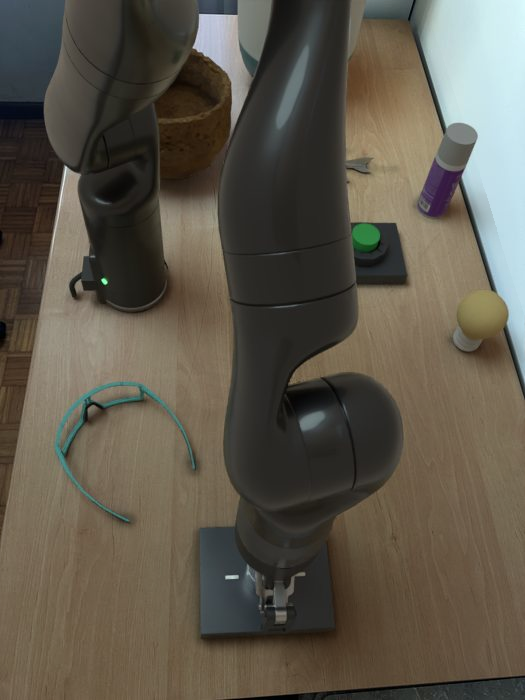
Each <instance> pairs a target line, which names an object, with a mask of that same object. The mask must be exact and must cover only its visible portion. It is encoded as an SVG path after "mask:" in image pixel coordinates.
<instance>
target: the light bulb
mask: <svg viewBox="0 0 525 700" xmlns="http://www.w3.org/2000/svg"><path fill="white" fill-rule="evenodd" d="M509 316H510V315H509V308H508V305H507V303H506V301H505V300H504V299H503V298H502V297H501V296H500V295H499V294H498V293H497V292H495V291H493V290H491V289H478V290H474V291H472V292H470V293H468V294H466V295H465V296H464V297H462V299H461V301H459V304H458V306H457V308H456V322H457V324H458V326H457V327H456V329H455V331H454V332H453V334H452V341H453V344H454V345H455V346H456V348H458V349H459V350H461V351H463V352H468V353H469V352H474V351H475V350H477V349H478V348H479V347H480V345H481V344H482V342H483V341H484V340H487V339H490V338H493V337H496V336H497V335H499V334H500V333H501V332H502V331H503V330H504V328H506V326H507V323H508V320H509Z"/></svg>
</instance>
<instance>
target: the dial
mask: <svg viewBox="0 0 525 700" xmlns="http://www.w3.org/2000/svg"><path fill="white" fill-rule="evenodd" d="M255 572H256V571H255V570H254V569H253V568H251V567H250V566H249V565H248V564H247V567H246V571H245V580H246V584H247V586H248V588H249V589H250V590H251V591H252V592H253V593H254V594H256V587H255ZM262 579H263V580H264V576H263V575H262ZM256 595H257V594H256ZM268 597H271V596H268Z"/></svg>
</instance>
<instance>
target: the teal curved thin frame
mask: <svg viewBox="0 0 525 700" xmlns="http://www.w3.org/2000/svg"><path fill="white" fill-rule="evenodd" d="M128 386H129V387H137V388H138V390H139V392H140V393H139V395H138V396H129V397H124V398H119V399H116V400H112V401H109V402H106V403H100V402H99V401H96V400H93V399H91V397H92V396H93V395H96V394H97V393H99V392H101V391H104V390H106V389H110V388H114V387H128ZM145 395H147V396H148V397H149V398H150V399H152V400H153V401H155V402H156V403H158V404H159V405H161V407H163V408H164V409H165V410H166V411H167V412H168V413H169V415H170V416H171V418H172V419H173V421H175V424H176V425H177V426H178V428H179V429H180V431H181V434H182V436H183V438H184V440H185V443H186V446H187V450H188V454H189V458H190V463H191V467H192V469H193V470H195V469H196V465H195V460H194V456H193V451H192V446H191V444H190V441H189V437H188V435H187V433H186V430H185V429H184V427H183V426H182V423H181V422H180V420H179V419H178V418H177V417H176V415H175V413H174V412H173V411H172V410H171V409H170V407H168V405H167V404H166V402H164V401H163V400H162V399H161V397H159V396H158V394H156V393H155V392H153V391H152V390H151V389H149V388H148V387H147V386H145V384H143V383H139V382H136V381H115V382H109V383H106V384H103V385H100V386H98V387H94V388H92V389H90V390H89V391H87V392H86V393H84V394H83V395H82V396H80V397H79V398H78V399H77V400H76V401H75V402H73V404H72V405H71V406H70V407H69V408H68V409H67V411H66V413H65V414H64V415H63V417H62V419H61V421H60V423H59V425H58V429H57V432H56V435H55V440H54V451H55V453H56V456H57V457H58V460H59V462H60V465H61V467H62V468H63V470H64V471H65V474H66V475H67V476H68V477H69V479H70V480H71V481H72V482H73V484H75V486H76V487H77V488H78V489H79V490H80V491H81V492H82V494H83V495H84V496H85V497H86V498H87V499H89V501H91V502H92V503H93V504H95V505H96V506H98V507H99V508H100V509H102V510H103V511H105V512H107V513H108V514H109V515H112V516H114V517H116V518H117V519H120V520H122V521H124V522H127V523H130V519H128V518H127V517H124V516H122V515H120V514H118V513H116V512H114V511H112V510H111V509H109V508H107V507H106V506H104V505H103V504H102V503H100V502H98V501H97V500H96V499H95V498H93V497H92V496H91V495H90V494H89V493H88V492H87V491H85V490H84V487H82V485H80V483H79V482H78V481H77V480H76V478H75V477H74V475H73V473H72V471H71V469H70V468H69V465H68V464H67V461H66V459H65V456H66V455H67V452H68V449H69V447H70V444H71V443H72V440H73V439H74V438H75V436H76V435H77V432H78V431H79V429H80V428H81V427H82V426H83V425H84V423H85V422H88V419H89V409H90V408H91V407H92V406H94V407H96V408H98V409H100V410H102V411H103V410H104V409H105V408H108V407H111V406H116V405H119V404H123V403H129V402H138V401H143V400H144V397H145ZM82 403H83V404H82ZM81 404H82V407H81V411H80V420H79V421H78V422H77V423H76V425H75V426H74V428H73V429H72V430H71V432H70V434H69V435H68V438H67V439H66V441H65V443H64V445H63V448H62V449H61V446H60V440H61V435H62V432H63V431H64V427H65V425H66V423H67V421H68V419H69V418H70V416H71V415H72V413H73V412H74V411H75V409H77V407H79V406H80V405H81Z"/></svg>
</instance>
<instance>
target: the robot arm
mask: <svg viewBox="0 0 525 700" xmlns="http://www.w3.org/2000/svg"><path fill="white" fill-rule="evenodd" d="M351 4H352V0H272V2H271V11H270V18H269V24H268V29H267V34H266V38H265V41H264V45H263V49H262V52H261V56H260V59H259V63H258V66H257V69H256V71H255V74H254V77H252V80H251V82H250V84H249V85H250V86H249V88H248V90H247V94H246V97H245V99H244V102H243V104H242V107H241V109H240V112H239V115H238V117H237V119H236V122H235V124H234V127H233V128H234V129H233V131H232V134H231V135H230V139H229V143H228V145H227V147H226V149H225V154H224V158H223V161H222V166H221V170H220V174H219V175H220V176H219V180H218V190H217V208H216V209H217V210H216V211H217V222H218V223H217V224H218V233H219V240H220V246H221V251H222V258H223V264H224V265H223V266H224V271H225V277H226V278H225V279H226V283H227V289H228V296H229V302H230V303H229V304H230V310H231V318H232V319H231V320H232V332H233V333H232V334H233V335H232V359H231V360H232V361H231V374H230V375H231V376H230V384H229V389H228V396H227V403H226V410H225V416H224V417H225V418H224V424H223V425H224V426H223V439H222V452H223V461H224V467H225V471H226V475H227V477H228V479H229V482H230V484H231V486H232V487H233V490H235V492H236V493H237V495H238V496H239V501H238V505H237V511H236V519H235V524H234V526H235V541H236V545H237V548H238V551H239V553H240V555H241V556H242V558H243V559H244V561H245V562H246V563H247V564H248V565H249V566H250V567H251V568H253V569H254V570H255V571H256V572H255V587H256V594H257V595H258V596H260V601H259V603H258V612H260V613H261V614H262V613H263V617H262V620H261V623H260V630H261V629H262V634H266V633H274V632H284V633H287V632H289V631H290V629H291V627H292V626H293V624H294V622H295V616H297V612H296V610H295V606H293V604H292V603H287V602H288V596H289V595H291V594H292V593H293V592H294V576H295V575H296V574H298V573H300V572H302V571H303V570H304V569H306V568H307V567H308V566H309V565H310V564H311V563H312V562H313V560H314V559H315V557H316V556H317V554H318V552H319V551H320V549H321V548H322V546H323V544H324V543H325V541H326V542H327V539H328V538H329V535H330V534H331V531H332V529H333V525H334V521H335V520H336V519H337V516H339V515H341V514H343V513H344V512H346V511H348V510H350V509H352V508H354V507H355V506H357V505H359V504H360V503H361V502H363V501H364V500H366V499H368V498H369V497H370V496H372V495H374V494H375V493H377V491H379V490H380V489H381V488H383V487H384V486H385V485H386V484H387V482H388V481H389V480H390V479H391V478H392V476H393V475H394V473H395V471H396V469H397V467H398V465H399V462H400V459H401V458H402V457H401V456H402V452H403V447H404V425H403V418H402V415H401V412H400V409H399V406H398V404H397V401H396V400H395V398H394V397H393V395H392V394H391V393H390V391H389V390H388V389H387V388H386V387H385V386H384V385H383V384H382V383H381V382H380V381H378V380H376V379H375V378H374V377H372V376H370V375H367V374H365V373H360V372H356V371H343V372H342V371H341V372H337V373H331V374H327V375H323V376H320V377H315V378H310V379H306V380H302V381H297V382H293V383H290V382H291V380H292V377H293V375H294V373H295V372H296V371H297V370H298V369H299V368H300V367H302V366H303V365H304V363H306V362H308V361H310V360H311V359H313V358H314V357H316V356H318V355H320V354H322V353H324V352H326V351H327V350H330V349H332V348H334V347H335V346H337V345H339V344H340V343H342V342H344V341H345V340H347V339H349V337H350V336H351V335H352V334H354V331H355V330H356V328H357V325H358V322H359V312H360V311H359V308H360V306H359V295H358V293H359V292H358V285H357V283H356V273H355V262H354V252H353V241H352V233H351V231H352V230H351V223H352V222H351V211H350V203H349V189H348V181H347V179H348V174H347V173H348V172H347V168H346V161H347V140H346V139H347V137H346V135H347V134H346V131H347V130H346V128H347V127H346V126H347V124H346V122H347V111H346V110H347V91H348V73H349V72H348V71H349V64H348V55H349V38H350V23H351ZM61 27H62V28H61V43H60V50H59V56H58V59H57V63H56V66H55V70H54V72H53V73H52V77H51V79H50V81H49V83H48V86H47V88H46V92H45V95H44V101H43V119H44V125H45V130H46V131H45V132H46V134H47V137H48V140H49V143H50V146H51V147H52V149H53V151H54V153H55V155H56V157H57V158H58V159H59V161H60V162H61V163H62V164H63V165H64V166H65V167H66V168H67V169H69V170H70V171H71V172H73V173H75V174H78V175H80V176H79V178H78V181H77V196H78V197H77V198H78V201H79V205H80V208H81V213H82V217H83V221H84V226H85V230H86V234H87V239H88V242H89V250H88V255H83V258H82V265H81V266H82V268H81V271H80V272H79V273H77V274H76V275H74V277H73V278H71V280H70V281H69V282H68V283H69V284H68V288H69V291H70V295H71V297H72V298H76V297H77V296H78V294H77V291H76V284H77V283H78V282H79V281H80V282H81V287H82V290H83V291H84V292H96V297H97V300H98V303H99V304H107V305H108V306H109V307H111V308H112V309H114V310H117V311H120V312H125V313H139V312H144V311H146V310H150V309H151V308H153V307H154V306H156V305H157V304H158V303H160V302H161V301H162V299H163V298H164V296H165V294H166V292H167V288H168V278H167V272H168V273H169V272H170V271H169V270H170V269H169V266H168V264H167V261H166V260H165V252H164V241H163V240H164V239H163V229H162V218H161V217H162V216H161V206H160V196H159V195H160V194H159V193H160V190H161V178H160V134H159V123H158V116H157V111H156V106H155V103H154V101H156V100H157V99H158V98H159V97H160V96H162V95H163V94H164V93H165V92H166V90H167V89H168V88H169V87H170V86H171V84H172V83H173V82H174V81H175V79H176V78H177V76H178V74H179V73H180V71H181V69H182V67H183V65H184V64H185V62H186V60H187V58H188V57H189V55H190V53H191V50H192V48H193V49H194V46H195V43H196V40H197V37H198V32H199V28H200V9H199V2H198V0H65V2H64V10H63V17H62V26H61ZM166 270H167V271H166ZM262 575H263V576H264V580H263V579H262ZM268 596H273V598H267V597H268Z"/></svg>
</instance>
